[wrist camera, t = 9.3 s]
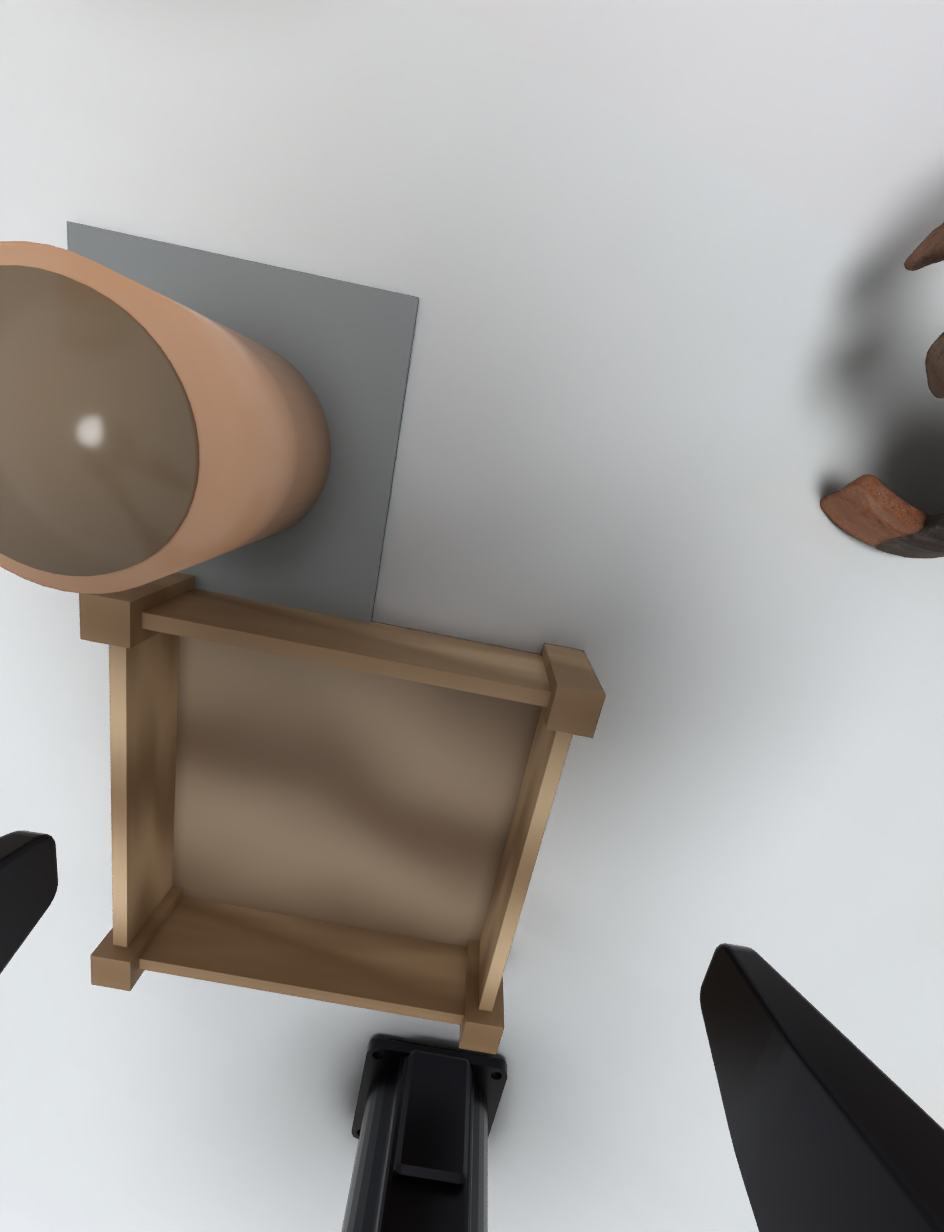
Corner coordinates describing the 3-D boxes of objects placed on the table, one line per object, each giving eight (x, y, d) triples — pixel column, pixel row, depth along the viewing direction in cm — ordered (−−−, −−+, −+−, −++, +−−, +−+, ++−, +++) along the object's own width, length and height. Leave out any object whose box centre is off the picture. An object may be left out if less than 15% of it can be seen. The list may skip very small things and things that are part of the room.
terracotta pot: (319, 555, 17) (208, 623, 10) (137, 519, 17) (-102, 563, 10) (341, 358, 15) (224, 280, 8) (138, 315, 15) (-153, 198, 8)
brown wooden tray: (494, 965, 22) (496, 1054, 19) (152, 904, 22) (91, 984, 19) (583, 650, 18) (605, 695, 15) (156, 566, 18) (79, 592, 14)
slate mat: (371, 621, 18) (370, 623, 18) (82, 564, 18) (77, 565, 17) (418, 299, 15) (418, 297, 15) (72, 224, 15) (66, 221, 14)
